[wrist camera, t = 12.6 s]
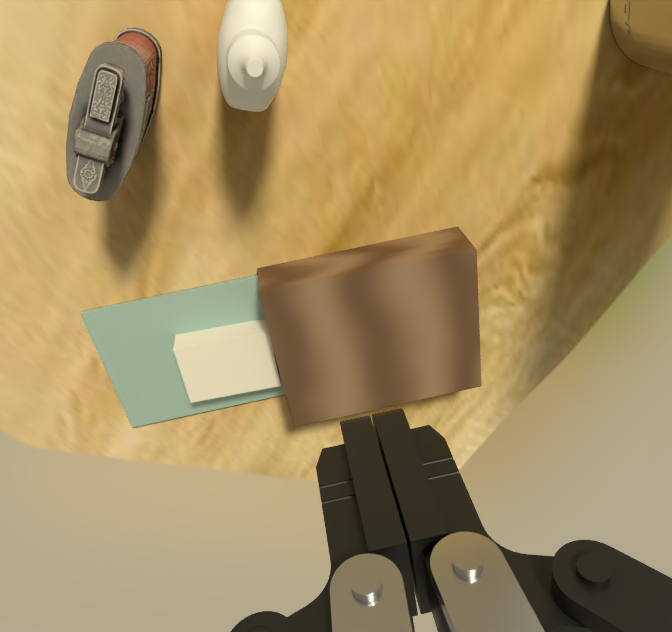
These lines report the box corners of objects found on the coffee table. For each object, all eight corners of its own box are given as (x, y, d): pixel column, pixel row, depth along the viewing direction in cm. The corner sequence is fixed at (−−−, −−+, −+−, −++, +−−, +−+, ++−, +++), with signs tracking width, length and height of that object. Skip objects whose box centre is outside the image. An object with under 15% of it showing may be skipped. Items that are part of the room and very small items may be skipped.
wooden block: (457, 226, 44) (476, 249, 40) (464, 357, 50) (481, 386, 47) (257, 268, 43) (259, 295, 40) (289, 395, 50) (293, 427, 46)
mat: (258, 274, 43) (259, 277, 43) (288, 390, 49) (289, 393, 49) (82, 311, 43) (80, 314, 43) (133, 424, 49) (132, 427, 48)
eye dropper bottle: (307, 21, 35) (336, 47, 25) (252, 99, 37) (257, 152, 27) (247, -33, 34) (251, -29, 23) (191, 52, 35) (173, 89, 25)
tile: (268, 318, 45) (269, 332, 43) (279, 370, 48) (281, 385, 46) (175, 334, 45) (173, 349, 43) (192, 386, 47) (190, 402, 46)
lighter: (141, 168, 38) (113, 227, 30) (86, 150, 37) (41, 206, 29) (172, 40, 35) (152, 67, 26) (113, 17, 34) (72, 37, 25)
